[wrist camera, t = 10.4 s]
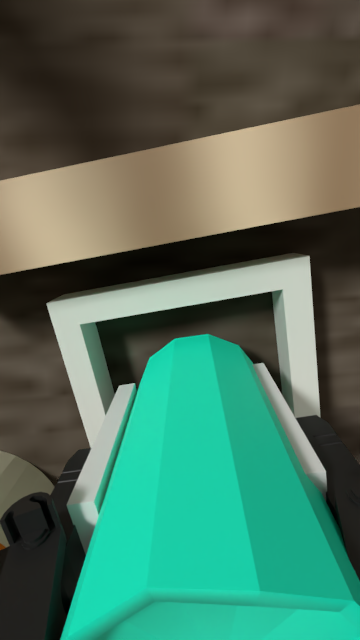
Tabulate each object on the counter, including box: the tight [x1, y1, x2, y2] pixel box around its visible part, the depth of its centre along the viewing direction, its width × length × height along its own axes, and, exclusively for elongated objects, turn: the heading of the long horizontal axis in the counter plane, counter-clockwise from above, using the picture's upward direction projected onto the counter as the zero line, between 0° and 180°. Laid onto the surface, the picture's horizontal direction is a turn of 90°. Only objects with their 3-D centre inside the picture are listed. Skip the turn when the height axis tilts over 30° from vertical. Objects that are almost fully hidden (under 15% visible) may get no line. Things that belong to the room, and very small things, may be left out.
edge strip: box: [0, 105, 360, 275], centre depth 12 cm, size 22×3×4 cm, turn 100°
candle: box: [60, 334, 360, 640], centre depth 9 cm, size 6×6×12 cm
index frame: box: [46, 253, 320, 448], centre depth 16 cm, size 11×11×2 cm
